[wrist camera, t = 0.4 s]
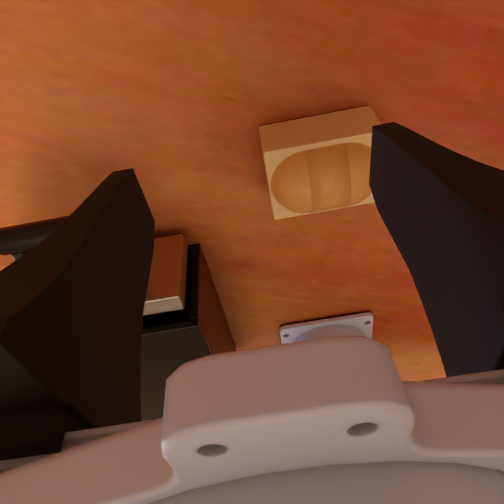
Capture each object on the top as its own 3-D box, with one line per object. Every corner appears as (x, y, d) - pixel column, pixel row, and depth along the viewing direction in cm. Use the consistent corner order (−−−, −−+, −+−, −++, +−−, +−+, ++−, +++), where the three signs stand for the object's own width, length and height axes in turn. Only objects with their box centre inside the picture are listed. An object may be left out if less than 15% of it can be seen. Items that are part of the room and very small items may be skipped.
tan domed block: (366, 174, 24) (388, 217, 21) (268, 191, 25) (277, 237, 22) (369, 105, 21) (395, 144, 18) (258, 125, 22) (266, 168, 19)
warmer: (34, 271, 28) (-3, 357, 23) (199, 243, 27) (198, 325, 22) (111, 367, 37) (96, 444, 32) (236, 348, 36) (240, 422, 32)
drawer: (-23, 200, 23) (-69, 266, 19) (158, 167, 22) (148, 228, 18) (103, 359, 35) (90, 418, 31) (223, 340, 34) (225, 398, 30)
